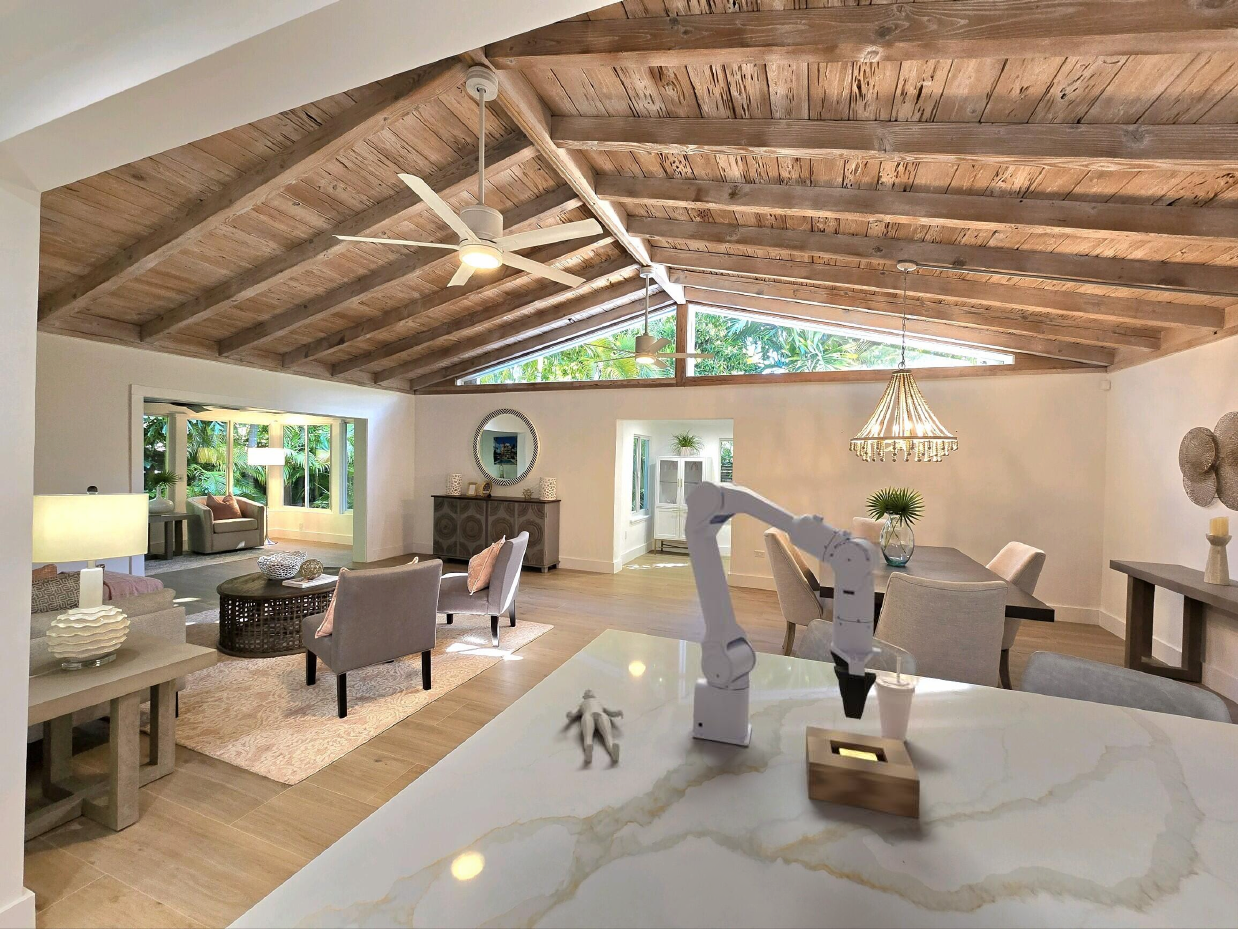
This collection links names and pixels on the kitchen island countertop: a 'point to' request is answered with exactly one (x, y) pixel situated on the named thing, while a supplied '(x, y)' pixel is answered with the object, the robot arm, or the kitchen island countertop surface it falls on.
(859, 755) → the block
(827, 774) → the brown rectangular hollow block
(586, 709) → the male figure
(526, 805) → the kitchen island countertop surface
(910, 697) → the smoothie
